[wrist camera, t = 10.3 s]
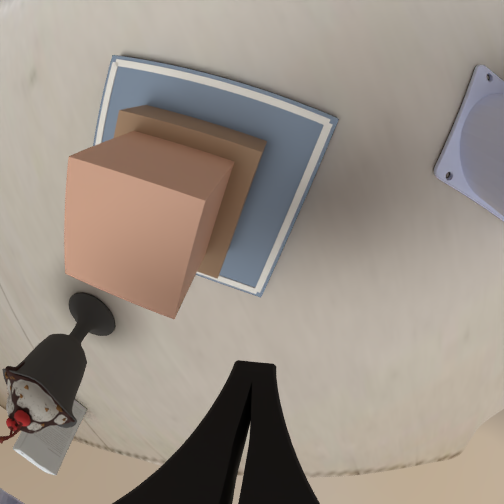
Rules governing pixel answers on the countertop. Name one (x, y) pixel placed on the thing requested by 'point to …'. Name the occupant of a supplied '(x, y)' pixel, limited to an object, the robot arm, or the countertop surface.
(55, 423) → the sundae
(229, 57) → the countertop surface
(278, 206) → the blueprint board
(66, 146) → the countertop surface
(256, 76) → the countertop surface
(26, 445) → the skincare box
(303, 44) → the countertop surface
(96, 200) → the terracotta block
